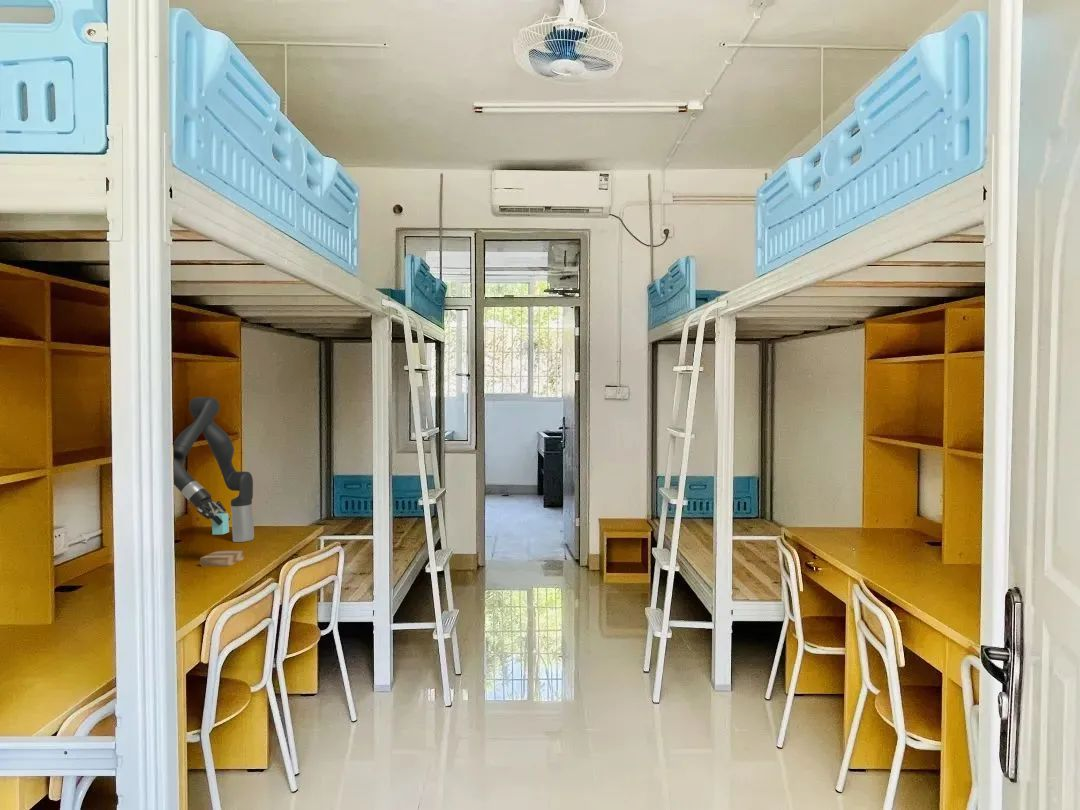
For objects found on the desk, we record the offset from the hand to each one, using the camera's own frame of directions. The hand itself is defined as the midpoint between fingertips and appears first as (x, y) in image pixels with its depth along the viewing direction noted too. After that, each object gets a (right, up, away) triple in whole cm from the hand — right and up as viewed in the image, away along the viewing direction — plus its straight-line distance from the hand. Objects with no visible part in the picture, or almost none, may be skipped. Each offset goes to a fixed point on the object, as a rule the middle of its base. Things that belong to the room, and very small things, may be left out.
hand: (224, 522), depth 279 cm
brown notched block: (-1, -18, +1) cm, 18 cm away
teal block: (-2, -5, 0) cm, 5 cm away
